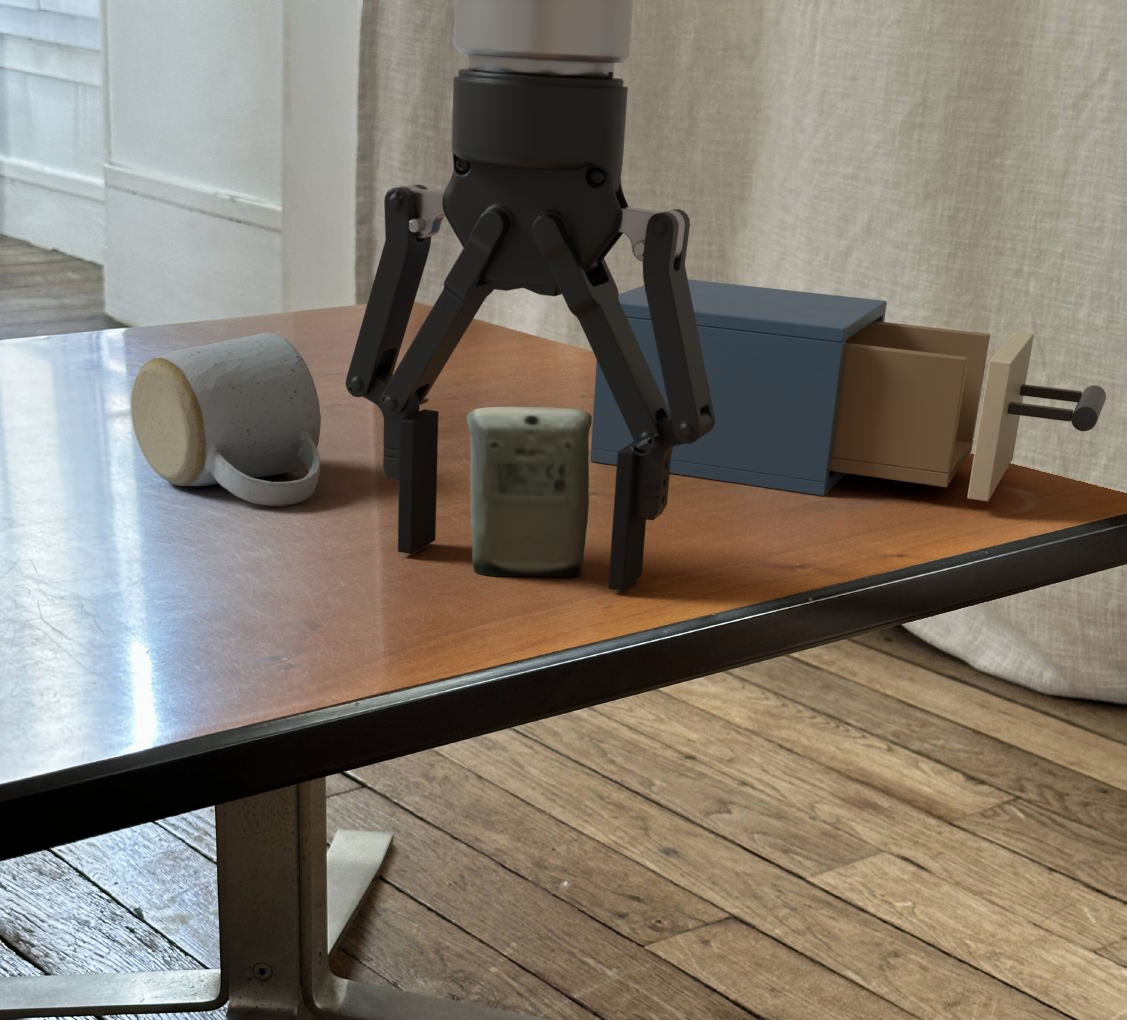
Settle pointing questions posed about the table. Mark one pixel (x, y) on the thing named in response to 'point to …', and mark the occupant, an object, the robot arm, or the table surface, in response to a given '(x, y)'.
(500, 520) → the grey electronic device
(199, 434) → the ceramic mug
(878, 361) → the drawer
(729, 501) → the table surface
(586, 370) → the table surface
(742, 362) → the cabinet
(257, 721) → the table surface
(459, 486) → the table surface
